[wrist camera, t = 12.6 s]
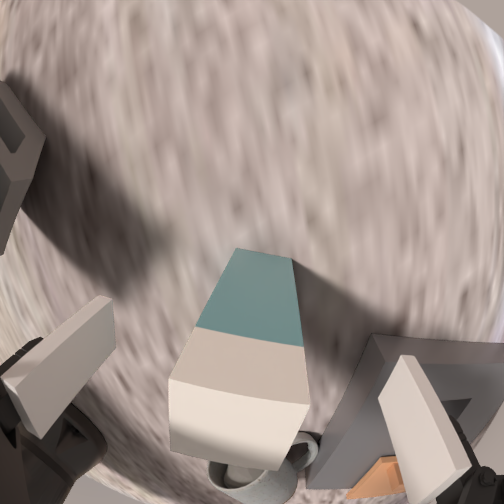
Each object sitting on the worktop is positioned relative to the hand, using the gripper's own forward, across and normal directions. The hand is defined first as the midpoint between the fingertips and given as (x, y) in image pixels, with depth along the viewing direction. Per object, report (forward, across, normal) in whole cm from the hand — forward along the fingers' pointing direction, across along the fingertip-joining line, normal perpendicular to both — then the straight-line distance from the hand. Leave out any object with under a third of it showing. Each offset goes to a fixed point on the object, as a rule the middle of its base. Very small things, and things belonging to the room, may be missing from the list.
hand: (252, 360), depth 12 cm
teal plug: (+10, 0, 0) cm, 10 cm away
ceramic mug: (+10, -4, +20) cm, 23 cm away
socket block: (+10, -20, +13) cm, 26 cm away
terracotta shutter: (+6, -20, +20) cm, 29 cm away
